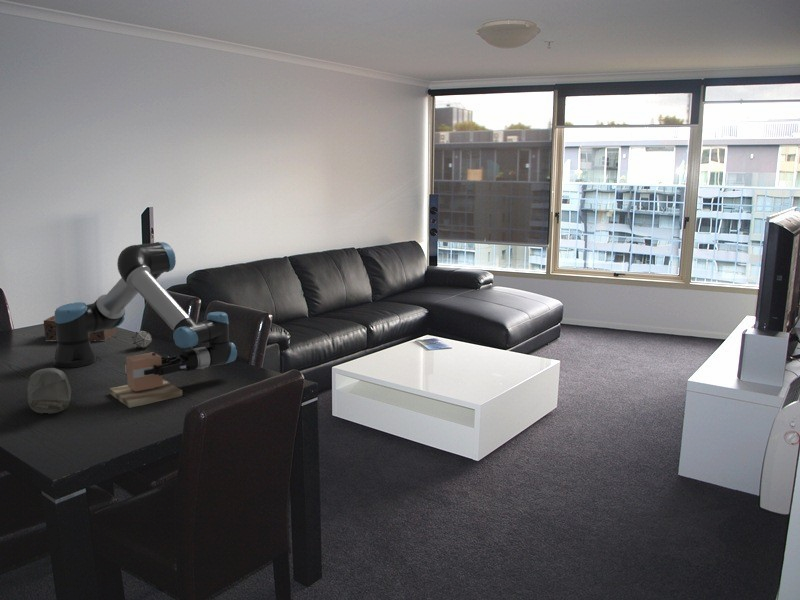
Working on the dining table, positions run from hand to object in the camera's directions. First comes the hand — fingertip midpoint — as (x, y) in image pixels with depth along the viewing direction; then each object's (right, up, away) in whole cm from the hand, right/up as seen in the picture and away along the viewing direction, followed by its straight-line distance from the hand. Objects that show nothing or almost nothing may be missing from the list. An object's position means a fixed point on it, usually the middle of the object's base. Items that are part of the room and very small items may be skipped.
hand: (129, 371), depth 220 cm
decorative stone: (-21, -11, -9) cm, 26 cm away
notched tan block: (+4, -5, +4) cm, 8 cm away
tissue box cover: (-55, +6, +81) cm, 98 cm away
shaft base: (+4, -9, +5) cm, 11 cm away
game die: (-20, +3, +64) cm, 67 cm away
